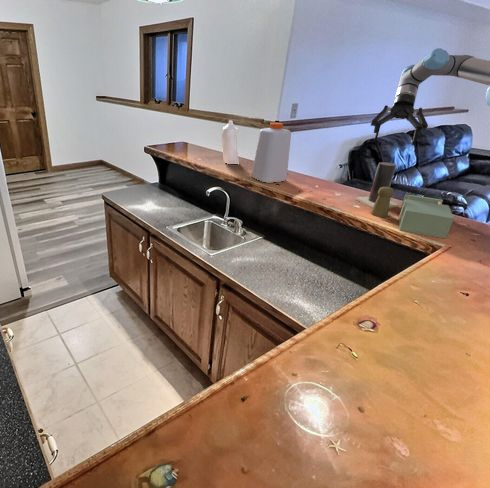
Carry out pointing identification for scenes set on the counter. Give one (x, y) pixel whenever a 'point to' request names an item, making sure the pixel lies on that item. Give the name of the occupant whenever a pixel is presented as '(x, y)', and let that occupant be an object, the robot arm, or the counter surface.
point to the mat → (371, 204)
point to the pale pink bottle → (230, 143)
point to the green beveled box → (425, 218)
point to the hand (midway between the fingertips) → (394, 141)
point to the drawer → (422, 199)
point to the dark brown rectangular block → (382, 179)
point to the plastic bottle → (272, 154)
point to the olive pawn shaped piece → (382, 202)
